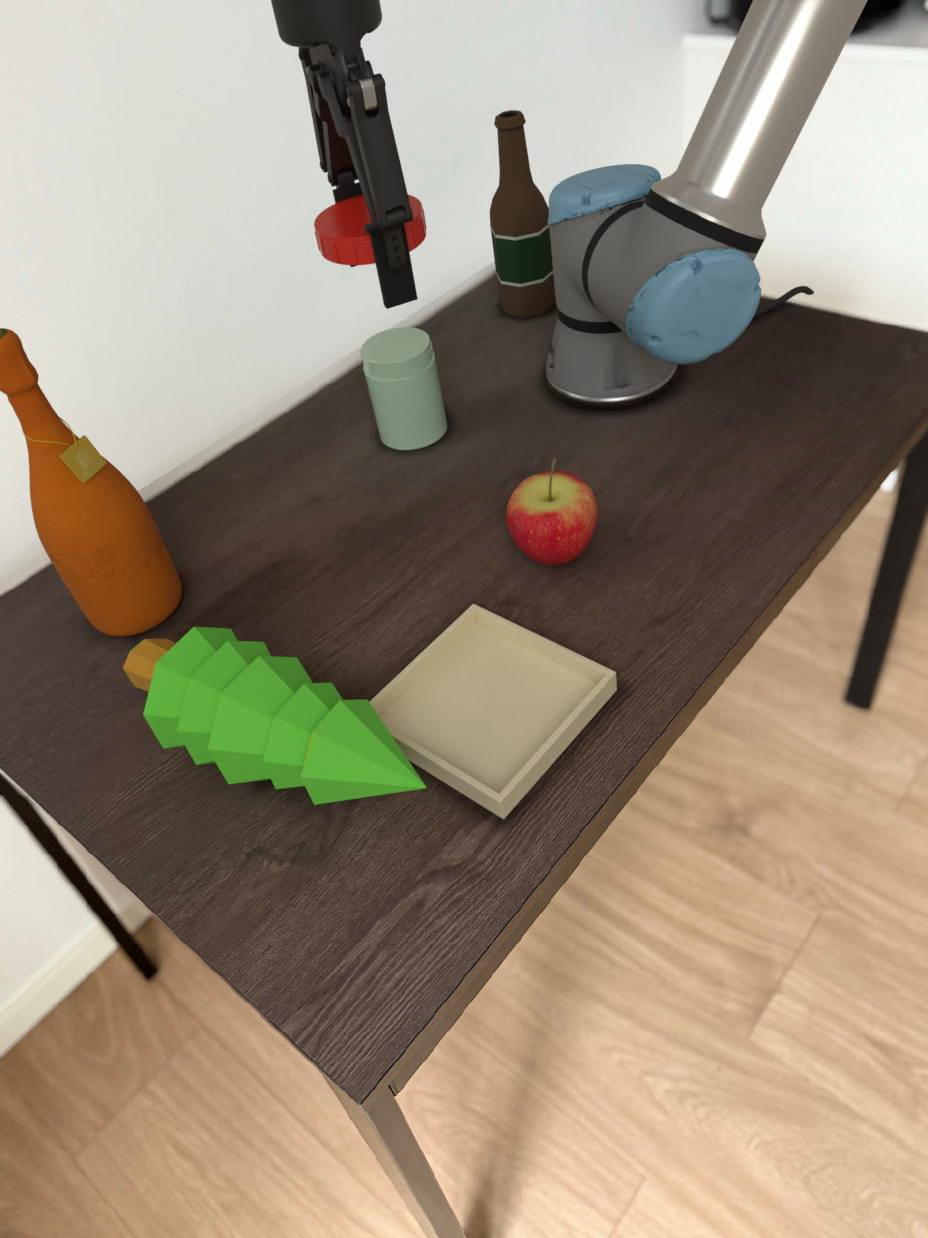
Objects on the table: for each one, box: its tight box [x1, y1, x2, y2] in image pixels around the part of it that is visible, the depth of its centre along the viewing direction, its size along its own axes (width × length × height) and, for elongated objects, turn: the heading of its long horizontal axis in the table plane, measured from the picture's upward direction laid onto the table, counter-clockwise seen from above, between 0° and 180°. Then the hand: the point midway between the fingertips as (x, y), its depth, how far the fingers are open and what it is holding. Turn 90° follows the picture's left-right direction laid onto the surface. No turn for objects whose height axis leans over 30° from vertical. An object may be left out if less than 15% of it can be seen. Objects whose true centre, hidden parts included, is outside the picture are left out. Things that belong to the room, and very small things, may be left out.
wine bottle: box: [0, 327, 183, 637], centre depth 85 cm, size 10×10×30 cm
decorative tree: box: [122, 626, 428, 806], centre depth 74 cm, size 11×12×30 cm
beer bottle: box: [489, 109, 556, 319], centre depth 120 cm, size 8×8×24 cm
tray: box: [369, 603, 618, 820], centre depth 78 cm, size 15×15×2 cm
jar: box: [359, 326, 448, 451], centre depth 107 cm, size 8×8×11 cm
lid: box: [313, 194, 427, 266], centre depth 78 cm, size 9×9×2 cm
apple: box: [505, 457, 598, 566], centre depth 88 cm, size 8×8×10 cm
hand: (381, 280), depth 81 cm, fingers closed on lid, 9 cm apart
